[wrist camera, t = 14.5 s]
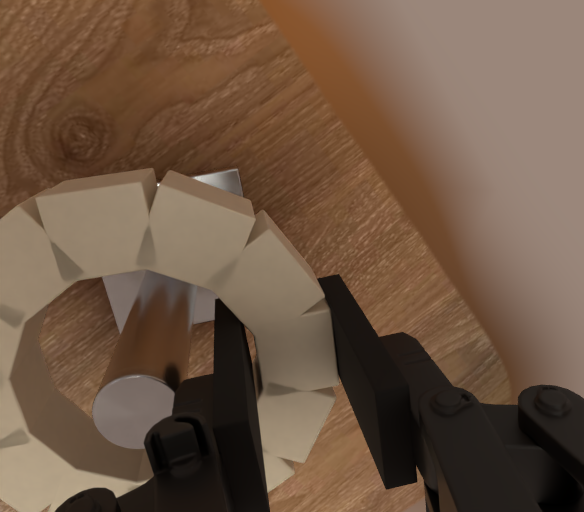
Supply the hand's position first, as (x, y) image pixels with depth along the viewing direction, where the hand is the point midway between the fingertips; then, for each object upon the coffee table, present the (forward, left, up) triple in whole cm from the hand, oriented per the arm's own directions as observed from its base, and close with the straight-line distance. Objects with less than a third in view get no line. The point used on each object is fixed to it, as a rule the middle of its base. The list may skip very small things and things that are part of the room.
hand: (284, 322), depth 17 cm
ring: (0, -5, 0) cm, 5 cm away
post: (0, -4, -11) cm, 12 cm away
